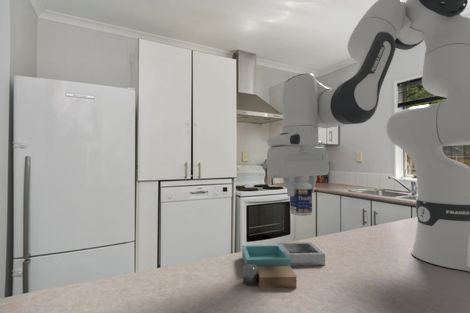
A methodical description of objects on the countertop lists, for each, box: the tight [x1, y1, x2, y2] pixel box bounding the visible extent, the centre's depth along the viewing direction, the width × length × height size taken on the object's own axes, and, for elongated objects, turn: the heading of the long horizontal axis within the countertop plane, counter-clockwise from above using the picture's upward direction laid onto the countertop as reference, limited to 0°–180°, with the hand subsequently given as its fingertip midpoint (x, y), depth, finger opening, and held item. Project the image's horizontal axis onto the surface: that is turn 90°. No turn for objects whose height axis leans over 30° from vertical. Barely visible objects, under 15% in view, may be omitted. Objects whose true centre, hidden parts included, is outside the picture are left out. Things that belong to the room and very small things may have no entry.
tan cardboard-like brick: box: [257, 266, 297, 290], centre depth 51 cm, size 7×5×2 cm
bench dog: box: [242, 264, 259, 287], centre depth 51 cm, size 3×3×3 cm
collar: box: [277, 241, 326, 267], centre depth 64 cm, size 9×9×2 cm
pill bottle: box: [289, 175, 313, 217], centre depth 64 cm, size 5×5×10 cm
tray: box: [241, 244, 292, 268], centre depth 59 cm, size 10×10×3 cm
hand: (300, 194), depth 64 cm, fingers closed on pill bottle, 5 cm apart
